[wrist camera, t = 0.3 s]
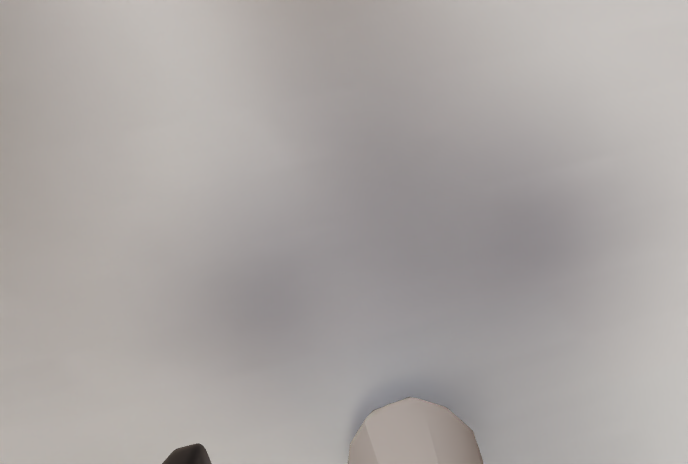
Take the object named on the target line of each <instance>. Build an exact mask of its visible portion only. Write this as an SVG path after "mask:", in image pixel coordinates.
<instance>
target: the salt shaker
mask: <svg viewBox="0 0 688 464" xmlns="http://www.w3.org/2000/svg"><path fill="white" fill-rule="evenodd" d="M348 464H483V460H482V456H481V453H480V450H479V448H478V445H477V442H476V439H475V436H474V433H473V431H472V430H471V429H470V428H469V427H468V426H467V425H466V424H465V423H464V422H462V421H461V420H460V419H459V418H458V417H457V416H456V415H454V414H453V413H452V412H451V411H450V410H449V409H448V408H447V407H444V406H441V405H438V404H434V403H431V402H428V401H425V400H422V399H418V398H412V397H408V398H405V399H403V400H400V401H398V402H395V403H390V404H388V405H386V406H384V407H382V408H379V409H377V410H374V411H372V412H371V414H370V415H369V416H368V417H367V418H366V419H365V420H364V422H363V424H362V425H361V427H360V429H359V430H358V432H357V433H356V435H355V437H354V438H353V440H352V442H351V443H350V448H349V457H348Z"/></svg>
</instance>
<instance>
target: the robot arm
mask: <svg viewBox="0 0 688 464" xmlns="http://www.w3.org/2000/svg"><path fill="white" fill-rule="evenodd" d="M162 464H211V461H210V459H209V456H208V454H207V451H206V449H205V448H204V446H203V445H201V444H199V443H198V444H193V445H189V446H185V447H181V448H178V449H176V450H174V451H173V452H172V453H171V454H170V455H169V456H168V458H167V459H166V460H165V461H164V462H163V463H162Z"/></svg>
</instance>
